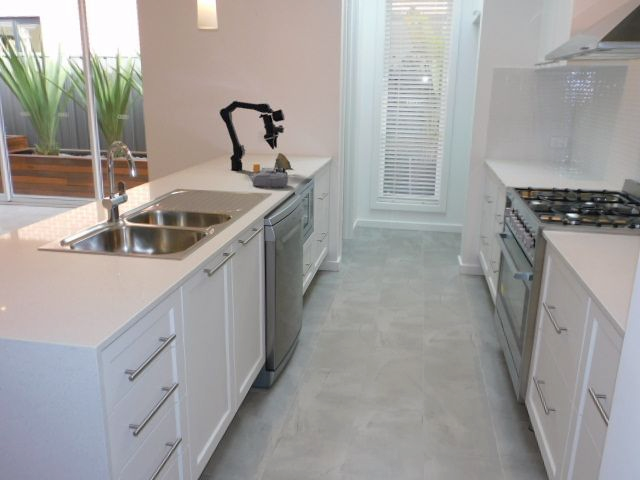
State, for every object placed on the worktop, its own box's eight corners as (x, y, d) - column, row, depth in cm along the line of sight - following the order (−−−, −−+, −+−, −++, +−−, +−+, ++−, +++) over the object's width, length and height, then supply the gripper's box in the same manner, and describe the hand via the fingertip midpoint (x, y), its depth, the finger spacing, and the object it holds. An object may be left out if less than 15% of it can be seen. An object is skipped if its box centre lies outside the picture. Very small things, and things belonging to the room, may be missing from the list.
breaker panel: (260, 175, 339) (260, 168, 338) (260, 171, 355) (260, 164, 354) (285, 175, 340) (286, 169, 339) (285, 171, 357) (285, 165, 356)
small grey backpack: (289, 184, 313) (254, 182, 315) (289, 170, 311) (254, 168, 313) (284, 189, 299) (248, 187, 301) (284, 174, 296) (248, 172, 298)
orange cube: (253, 172, 351) (253, 164, 349) (253, 171, 354) (253, 163, 353) (259, 172, 351) (259, 164, 350) (259, 171, 355) (259, 163, 353)
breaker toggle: (278, 171, 342) (275, 159, 341) (281, 171, 344) (277, 158, 344) (281, 171, 341) (277, 158, 340) (283, 170, 344) (279, 158, 343)
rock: (294, 164, 373) (281, 161, 376) (292, 155, 366) (279, 151, 369) (287, 175, 367) (274, 172, 371) (285, 166, 360) (271, 163, 364)
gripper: (278, 121, 337) (284, 147, 341) (283, 119, 355) (289, 144, 358) (260, 125, 339) (267, 151, 342) (266, 123, 357) (272, 147, 360)
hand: (274, 148), depth 351 cm, fingers open, 9 cm apart
